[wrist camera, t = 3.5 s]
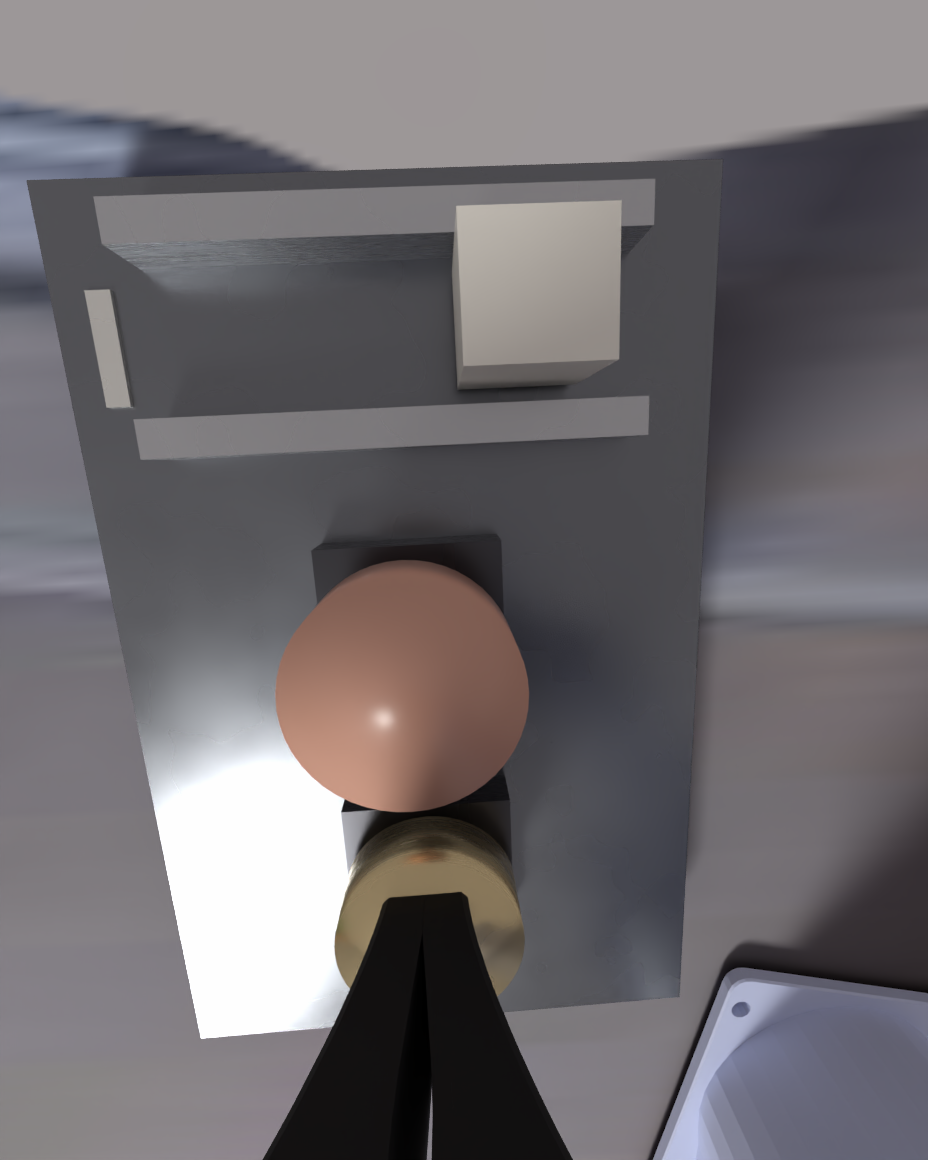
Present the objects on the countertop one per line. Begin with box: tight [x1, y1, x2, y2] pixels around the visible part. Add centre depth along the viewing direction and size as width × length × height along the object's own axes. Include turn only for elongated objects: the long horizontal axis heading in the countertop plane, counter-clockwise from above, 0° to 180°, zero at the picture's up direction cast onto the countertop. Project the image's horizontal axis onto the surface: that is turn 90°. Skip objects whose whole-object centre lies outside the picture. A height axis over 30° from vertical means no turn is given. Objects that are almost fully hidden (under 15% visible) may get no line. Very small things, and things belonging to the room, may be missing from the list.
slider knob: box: [452, 200, 622, 390], centre depth 8 cm, size 2×2×2 cm
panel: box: [27, 159, 723, 1038], centre depth 11 cm, size 17×11×3 cm, turn 3°
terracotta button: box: [275, 560, 529, 812], centre depth 8 cm, size 3×3×2 cm
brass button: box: [334, 816, 525, 996], centre depth 10 cm, size 3×3×2 cm
